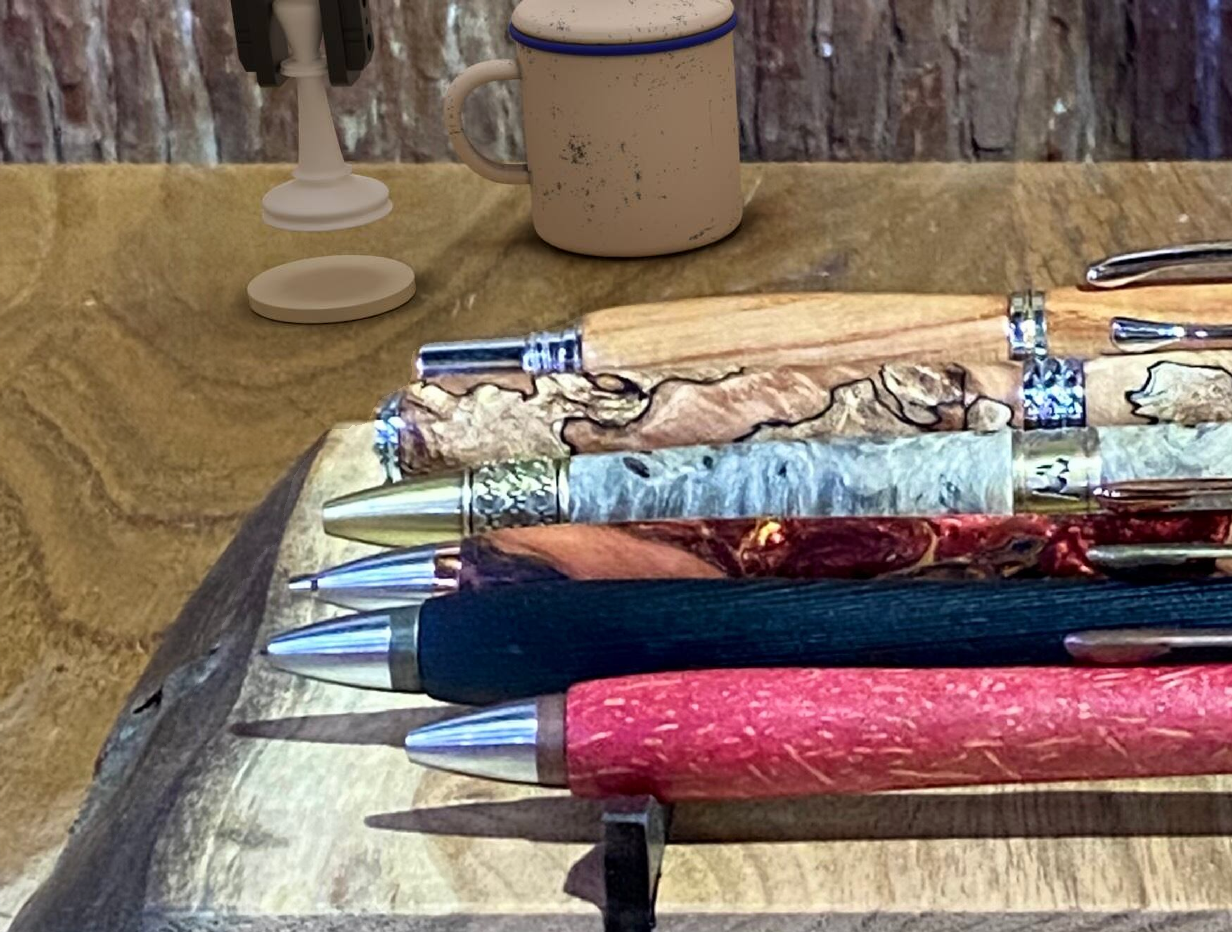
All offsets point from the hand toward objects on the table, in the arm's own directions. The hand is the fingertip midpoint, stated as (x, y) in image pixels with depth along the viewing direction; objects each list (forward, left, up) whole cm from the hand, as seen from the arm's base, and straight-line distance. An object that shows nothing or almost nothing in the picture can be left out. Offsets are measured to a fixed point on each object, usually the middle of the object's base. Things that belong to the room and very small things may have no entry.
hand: (311, 80), depth 100 cm
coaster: (0, 0, -8) cm, 8 cm away
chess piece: (0, 0, -5) cm, 5 cm away
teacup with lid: (+9, +8, -9) cm, 15 cm away
